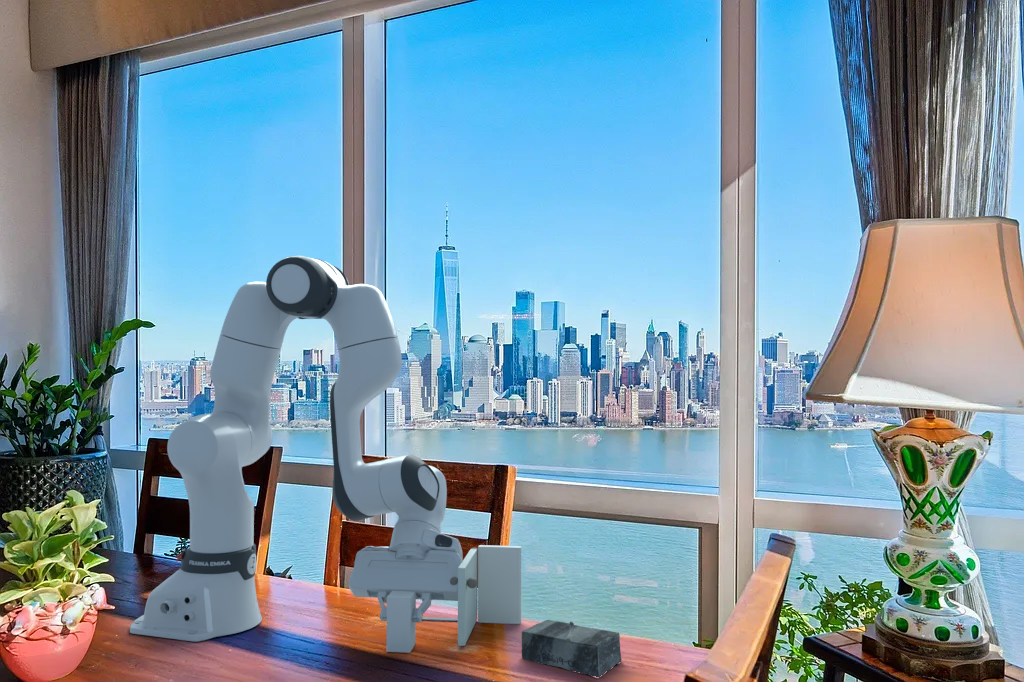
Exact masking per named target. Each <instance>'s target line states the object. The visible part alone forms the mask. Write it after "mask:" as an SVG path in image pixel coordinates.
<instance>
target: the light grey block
mask: <svg viewBox="0 0 1024 682" xmlns="http://www.w3.org/2000/svg"><path fill="white" fill-rule="evenodd" d="M416 602H417V599H416V591H392V592H391V593H390V594H389V595H388V596H387V603H386V607H387V621H386V637H385V638H386V640H385V641H386V643H385V645H386V649H385V652H387V653H389V652H390V653H405V654H406V653H410V654H411V652H412V650H413V649H414V647H415V645H416V633H417V632H416V630H417V628H416V626H417V624H416V623H417V622H412V614H413V612H412V611H413V608H416V607H417V605H416V604H417V603H416Z"/></svg>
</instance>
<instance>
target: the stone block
mask: <svg viewBox="0 0 1024 682" xmlns="http://www.w3.org/2000/svg"><path fill="white" fill-rule="evenodd" d="M620 640H621V638H620V632H617V631H610V630H605V629H599V628H593V627H589V626H583V625H582V626H581V625H576V624H575V623H574V622H573V621H569V622H564V621H558V620H552V619H545V620H544V621H542V622H539V623H535V624H534V625H532V626H530V627H528V628H525V629H524V630H521V659H522V660H525V659H526V661H529V660H530V661H529V662H533V661H534V662H533V663H537V662H539V663H538V664H540V663H542V664H541V665H544V664H547V665H546V666H553V667H559V668H562V669H565V670H567V671H570V670H571V671H570V672H572V671H576V672H580V673H584V674H583V675H587V674H589V675H588V676H590V675H592V676H596V677H600V676H601V675H603V674H604V673H605V672H606V671H608V670H610V669H611V668H612V667H614V666H615V665H616V664H617V665H619V664H618V663H619V662H621V663H622V652H621V643H620V642H621V641H620ZM617 665H616V666H617ZM616 666H615V667H616ZM615 667H614V668H615ZM611 670H612V669H611ZM611 670H610V671H611ZM608 672H609V671H608ZM580 673H579V674H580ZM604 675H605V674H604ZM604 675H603V676H604ZM592 676H591V677H592ZM600 678H601V677H600Z"/></svg>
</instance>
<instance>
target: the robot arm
mask: <svg viewBox="0 0 1024 682" xmlns="http://www.w3.org/2000/svg"><path fill="white" fill-rule="evenodd" d="M296 319H299V320H313V319H315V320H319V319H323V320H325V321H326V322H328V324H329V325H330V327H331V329H332V331H333V334H334V338H335V343H336V347H337V350H338V357H339V358H338V359H339V368H338V375H337V378H336V381H335V382H334V383H333V384H332V385H331V388H330V392H329V394H330V395H329V408H330V409H329V414H330V430H331V431H330V433H331V445H332V462H333V478H332V489H331V492H332V494H331V495H332V499H333V500H332V501H333V504H334V505H335V508H336V509H337V510H338V511H339V512H340V514H342V515H343V516H344V517H346V518H347V519H349V520H350V521H353V522H359V521H363V520H367V519H369V518H373V517H376V516H380V515H384V514H385V515H386V514H391V513H395V514H396V515H397V516H398V517H397V520H396V523H395V524H394V527H393V530H392V534H391V535H392V536H391V540H390V545H389V546H373V545H368V546H365V547H364V548H361V549H360V550H359V551H357V553H356V555H355V560H354V566H353V568H352V571H351V573H350V577H349V580H348V588H349V590H350V592H351V594H352V595H353V596H354V598H355V597H356V598H370V599H371V598H375V599H376V598H377V600H378V604H379V605H380V613H379V619H380V621H381V622H387V606H386V605H385V604H387V596H388V595H389V594H390V593H391V592H392V591H416V600H421V601H422V602H421V603H420V605H419V606H418V607H417V608H413V611H412V612H413V614H412V622H416V623H418V624H419V623H422V621H423V620H422V617H424V614H425V612H426V611H428V609H429V608H430V607H431V605H432V601H451V602H453V601H454V602H458V583H457V584H456V585H451V584H450V579H451V578H452V577H457V578H458V567H459V566H460V564H461V563H462V561H463V560H464V558H463V557H464V556H463V554H464V553H463V549H462V546H461V543H460V540H459V539H458V538H455V537H454V536H450V535H447V534H444V533H442V531H441V529H442V527H441V526H442V523H443V521H444V519H445V514H446V507H447V495H448V493H447V492H448V488H447V479H446V477H445V475H444V473H443V472H442V471H441V470H439V469H438V468H436V467H435V466H433V465H428V464H427V463H426V462H425V461H424V460H423V459H421V458H420V457H418V456H417V455H414V454H408V455H407V454H405V455H399V456H395V457H390V458H386V459H382V460H377V461H373V462H368V463H366V462H364V460H363V455H362V454H363V453H362V440H361V424H360V421H361V416H362V413H363V411H364V410H365V408H366V406H367V405H369V403H370V402H372V401H373V400H374V399H376V398H377V397H378V396H379V395H381V394H382V393H383V392H385V391H386V390H387V389H388V388H389V387H390V386H391V385H392V384H394V382H395V381H396V379H397V378H398V376H399V375H400V372H401V369H402V363H403V358H402V356H403V355H402V349H401V346H400V341H399V338H398V337H399V336H398V333H397V330H396V326H395V322H394V318H393V316H392V313H391V311H390V308H389V306H388V303H387V300H386V299H385V296H384V295H383V292H382V291H381V290H380V289H379V288H377V287H376V286H374V285H371V284H365V283H358V284H357V283H356V284H352V285H350V282H349V280H348V278H347V277H346V275H345V274H344V273H343V272H342V270H341V269H340V268H338V267H337V266H335V265H333V264H330V263H329V262H327V261H325V260H322V259H320V258H313V257H312V258H311V257H308V256H305V255H292V256H291V255H290V256H288V257H284V258H282V259H280V260H279V261H277V262H276V263H275V264H274V265H273V266H272V267H271V268H270V270H269V271H268V274H267V277H266V281H251V282H247V283H244V284H243V285H242V286H240V287H239V288H238V289H237V292H235V295H234V297H233V299H232V301H231V303H230V305H229V308H228V310H227V313H226V316H225V318H224V321H223V324H222V327H221V331H220V334H219V338H218V341H217V345H216V348H215V353H214V356H213V360H212V363H211V366H210V371H209V377H210V380H211V381H212V384H213V387H214V388H213V389H214V403H213V410H212V412H209V413H204V414H203V413H202V414H198V415H195V416H193V417H191V418H188V419H187V420H185V421H183V422H181V423H180V424H179V425H177V426H176V427H175V428H174V429H173V430H172V432H171V433H170V435H169V438H168V440H167V446H166V448H167V449H166V450H167V456H168V459H169V461H170V463H171V464H172V466H173V467H174V468H175V469H176V470H177V472H179V474H180V476H181V478H182V481H183V484H184V488H185V490H186V495H187V500H188V505H189V547H187V548H186V549H185V550H182V551H181V553H178V554H177V555H175V558H176V559H175V562H176V563H177V562H179V561H180V563H181V564H180V566H179V569H177V570H176V571H175V572H174V573H173V574H172V575H170V576H169V577H168V578H166V579H165V580H164V581H163V582H161V583H160V584H159V585H158V586H156V587H155V588H154V589H153V590H152V591H151V592H150V593H149V595H148V596H147V600H146V603H145V605H144V606H145V607H144V612H143V613H144V614H143V615H140V616H139V617H138V618H136V619H134V620H133V622H131V624H130V628H129V633H130V634H133V635H134V634H135V635H140V636H141V635H142V636H148V637H149V636H150V637H155V638H156V637H157V638H163V639H172V640H179V641H187V642H188V641H189V642H203V641H207V640H210V639H213V638H216V637H223V636H227V635H228V636H229V635H233V634H237V633H241V632H244V631H247V630H250V629H253V628H254V627H257V626H258V625H259V624H261V622H262V620H263V617H262V614H261V611H260V606H259V602H258V597H257V590H256V580H255V579H256V578H255V575H256V572H257V545H256V543H254V538H255V537H254V536H255V531H254V530H255V528H254V525H255V522H254V521H255V517H254V516H255V504H254V500H253V498H251V496H250V495H249V494H248V492H247V488H246V486H245V481H244V478H243V470H242V469H243V467H247V466H250V465H252V464H254V463H255V462H256V461H258V460H260V458H262V457H263V456H264V455H266V453H267V452H268V451H269V450H270V448H271V445H272V442H273V436H274V435H273V430H272V426H271V424H270V420H269V419H270V404H271V403H270V398H271V389H272V384H273V381H274V380H273V379H274V377H275V373H276V369H277V365H278V361H279V358H280V354H281V350H282V347H283V343H284V339H285V334H286V332H287V330H288V327H289V326H290V324H291V323H292V322H293V321H295V320H296Z"/></svg>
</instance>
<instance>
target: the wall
mask: <svg viewBox="0 0 1024 682" xmlns="http://www.w3.org/2000/svg"><path fill="white" fill-rule="evenodd" d="M477 548H478V573H477V623H481V624H482V623H483V624H484V623H485V624H505V625H506V624H510V625H511V624H512V625H521V624H522V546H521V545H491V544H490V545H489V544H488V545H487V544H486V545H485V544H480V545H478V546H477ZM422 621H429V622H431V621H434V622H456V623H458V617H437V616H436V617H434V616H432V617H431V616H422Z"/></svg>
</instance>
